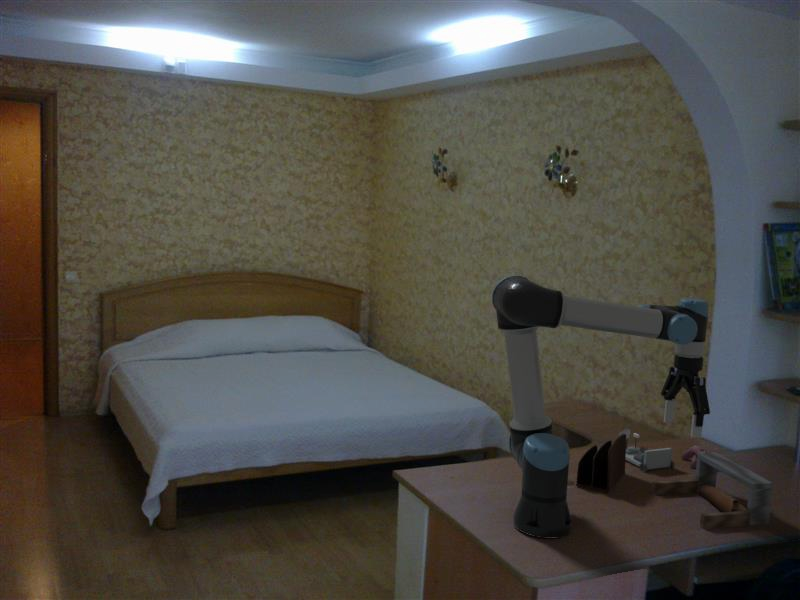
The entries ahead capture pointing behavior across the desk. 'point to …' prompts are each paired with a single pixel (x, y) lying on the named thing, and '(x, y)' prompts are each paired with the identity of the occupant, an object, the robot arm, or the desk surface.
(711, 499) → the sunglasses case
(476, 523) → the desk surface
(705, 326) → the robot arm
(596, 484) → the letter holder
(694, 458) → the video game controller
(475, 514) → the desk surface
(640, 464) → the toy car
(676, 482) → the walled lane
